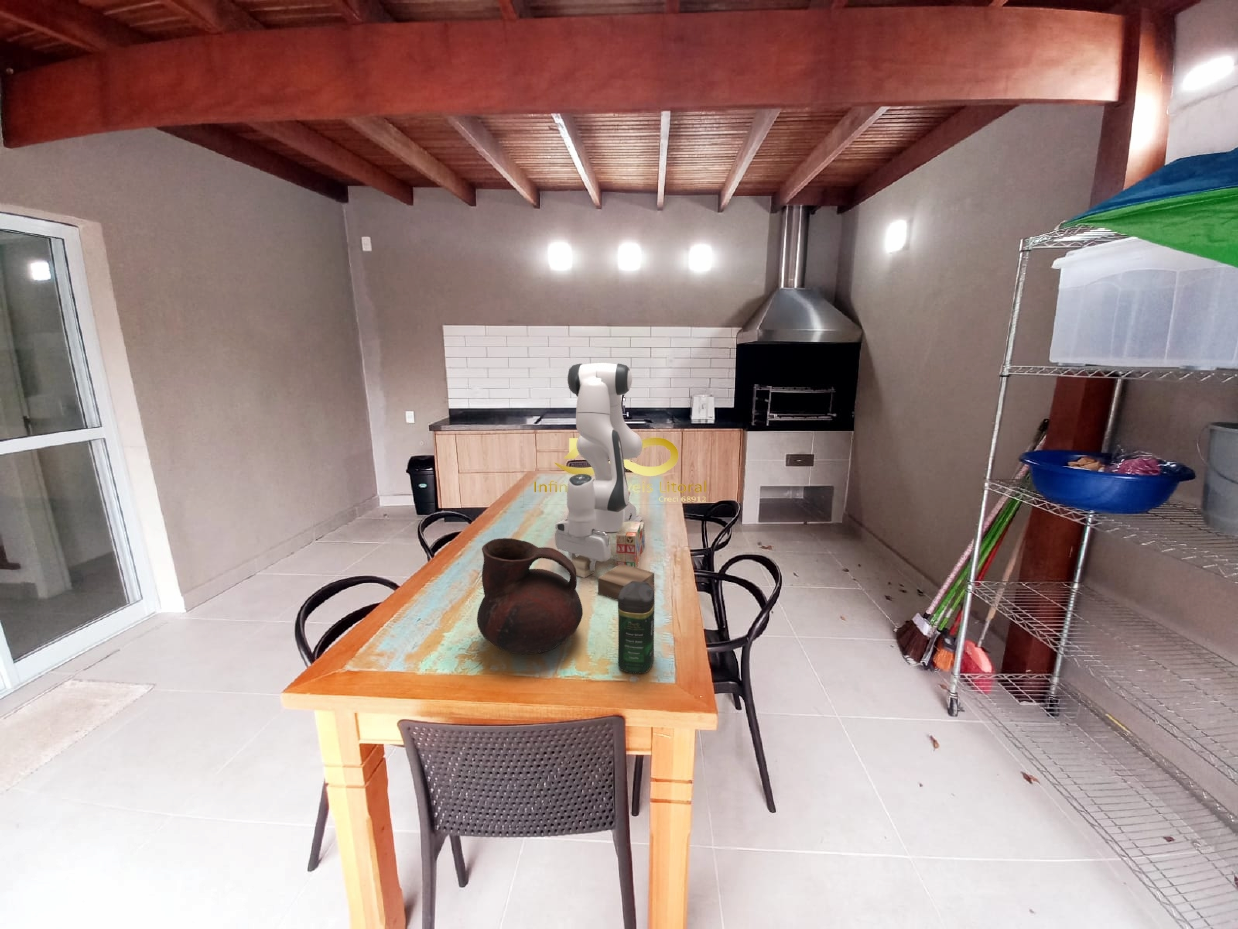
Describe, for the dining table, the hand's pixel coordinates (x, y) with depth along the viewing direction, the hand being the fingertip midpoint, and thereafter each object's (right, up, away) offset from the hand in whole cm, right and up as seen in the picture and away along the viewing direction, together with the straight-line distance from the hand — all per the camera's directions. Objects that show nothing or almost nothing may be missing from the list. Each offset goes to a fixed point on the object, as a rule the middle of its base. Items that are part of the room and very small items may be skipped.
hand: (583, 567), depth 156 cm
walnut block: (+14, -5, -11) cm, 18 cm away
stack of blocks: (+16, +1, +13) cm, 20 cm away
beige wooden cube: (0, -2, 0) cm, 2 cm away
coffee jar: (+15, -13, -45) cm, 49 cm away
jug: (-10, -11, -36) cm, 38 cm away
